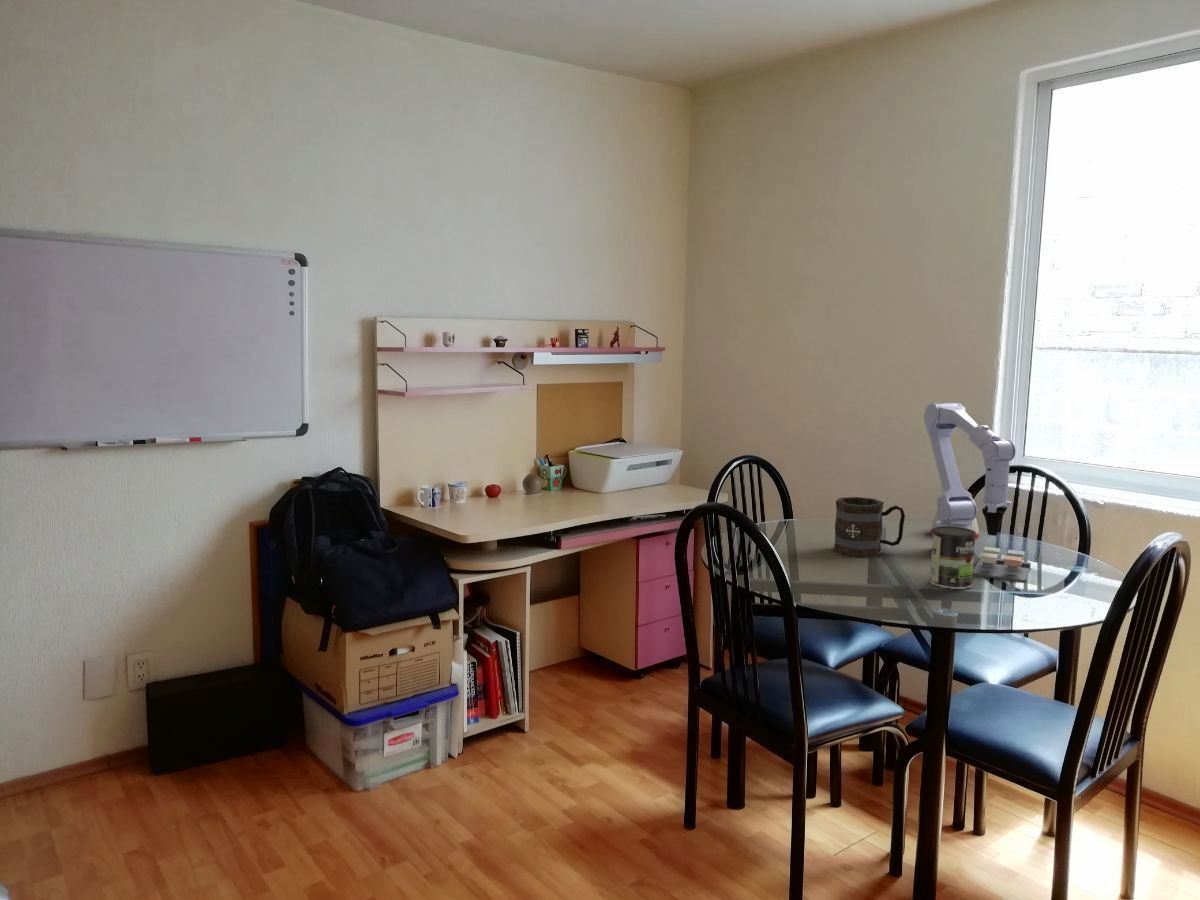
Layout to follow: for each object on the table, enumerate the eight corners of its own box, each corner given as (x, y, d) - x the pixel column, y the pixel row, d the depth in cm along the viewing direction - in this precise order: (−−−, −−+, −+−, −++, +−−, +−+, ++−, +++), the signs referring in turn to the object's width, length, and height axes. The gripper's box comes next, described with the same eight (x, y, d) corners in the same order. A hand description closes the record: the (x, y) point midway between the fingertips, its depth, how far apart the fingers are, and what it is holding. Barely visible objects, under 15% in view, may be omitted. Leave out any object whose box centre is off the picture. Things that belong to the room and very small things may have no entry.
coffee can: (981, 586, 230) (985, 532, 228) (952, 592, 226) (956, 537, 224) (949, 576, 239) (952, 524, 237) (920, 581, 235) (923, 528, 233)
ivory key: (979, 567, 241) (979, 555, 240) (981, 563, 244) (981, 552, 244) (995, 569, 239) (996, 557, 238) (997, 565, 242) (997, 554, 242)
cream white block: (982, 561, 247) (983, 549, 246) (984, 557, 250) (985, 546, 250) (998, 563, 245) (999, 551, 244) (1000, 559, 248) (1000, 548, 248)
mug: (836, 557, 258) (838, 505, 256) (830, 545, 271) (832, 496, 269) (907, 559, 255) (910, 507, 253) (898, 547, 269) (900, 498, 266)
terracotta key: (1003, 570, 238) (1004, 558, 238) (1005, 567, 241) (1005, 555, 241) (1020, 572, 236) (1020, 560, 236) (1021, 569, 239) (1022, 557, 239)
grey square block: (1006, 564, 244) (1007, 552, 244) (1007, 560, 247) (1008, 549, 247) (1022, 566, 242) (1023, 554, 242) (1024, 562, 245) (1024, 551, 245)
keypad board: (971, 575, 240) (971, 569, 240) (979, 561, 253) (979, 556, 253) (1025, 582, 234) (1025, 576, 234) (1030, 568, 247) (1030, 562, 246)
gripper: (1009, 490, 236) (1006, 541, 238) (1015, 481, 249) (1011, 529, 251) (980, 488, 240) (977, 537, 242) (987, 479, 252) (984, 526, 254)
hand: (993, 533), depth 247 cm, fingers open, 3 cm apart
